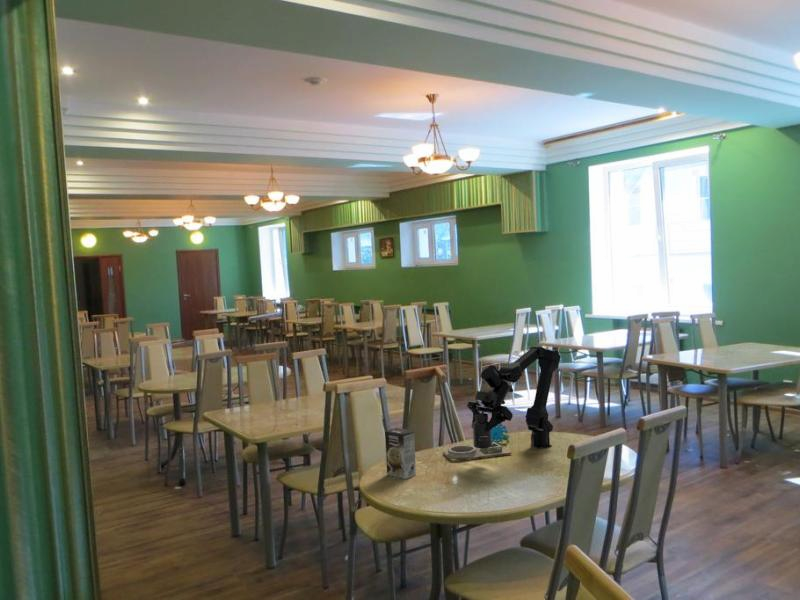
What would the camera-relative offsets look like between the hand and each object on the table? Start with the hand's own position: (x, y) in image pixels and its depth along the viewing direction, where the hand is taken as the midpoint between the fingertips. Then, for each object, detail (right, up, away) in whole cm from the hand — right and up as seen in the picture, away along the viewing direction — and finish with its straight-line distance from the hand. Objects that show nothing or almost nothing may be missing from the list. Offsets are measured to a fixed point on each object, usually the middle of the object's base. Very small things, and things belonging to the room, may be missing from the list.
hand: (479, 429), depth 245 cm
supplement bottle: (+1, -7, +1) cm, 7 cm away
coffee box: (-29, -15, -6) cm, 33 cm away
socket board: (+1, -13, +15) cm, 19 cm away
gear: (+11, -12, +32) cm, 35 cm away
